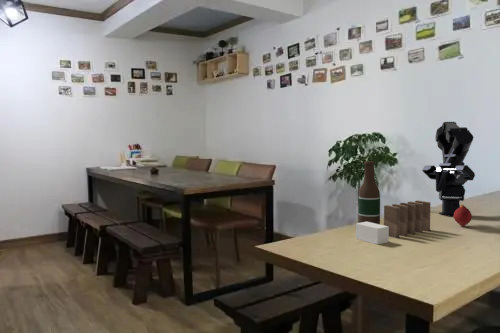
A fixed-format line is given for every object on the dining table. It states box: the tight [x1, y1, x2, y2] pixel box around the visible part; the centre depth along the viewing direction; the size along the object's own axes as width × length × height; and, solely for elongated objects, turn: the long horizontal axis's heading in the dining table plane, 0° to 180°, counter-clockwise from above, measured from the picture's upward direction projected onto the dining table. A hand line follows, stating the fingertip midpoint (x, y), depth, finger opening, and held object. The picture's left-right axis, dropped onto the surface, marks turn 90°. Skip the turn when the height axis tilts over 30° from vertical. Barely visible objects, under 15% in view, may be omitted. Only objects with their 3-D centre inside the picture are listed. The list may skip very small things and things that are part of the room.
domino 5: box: [414, 200, 431, 232], centre depth 146 cm, size 2×5×10 cm, turn 32°
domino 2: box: [391, 203, 408, 237], centre depth 140 cm, size 2×5×10 cm, turn 32°
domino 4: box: [407, 201, 424, 234], centre depth 144 cm, size 2×5×10 cm, turn 31°
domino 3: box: [399, 202, 416, 236], centre depth 142 cm, size 2×5×10 cm, turn 32°
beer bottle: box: [357, 160, 381, 225], centre depth 152 cm, size 8×8×24 cm
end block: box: [355, 222, 390, 245], centre depth 133 cm, size 5×9×5 cm, turn 32°
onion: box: [453, 203, 473, 227], centre depth 150 cm, size 6×6×8 cm
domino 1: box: [383, 204, 400, 239], centre depth 138 cm, size 2×5×10 cm, turn 32°
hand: (437, 191), depth 151 cm, fingers closed
